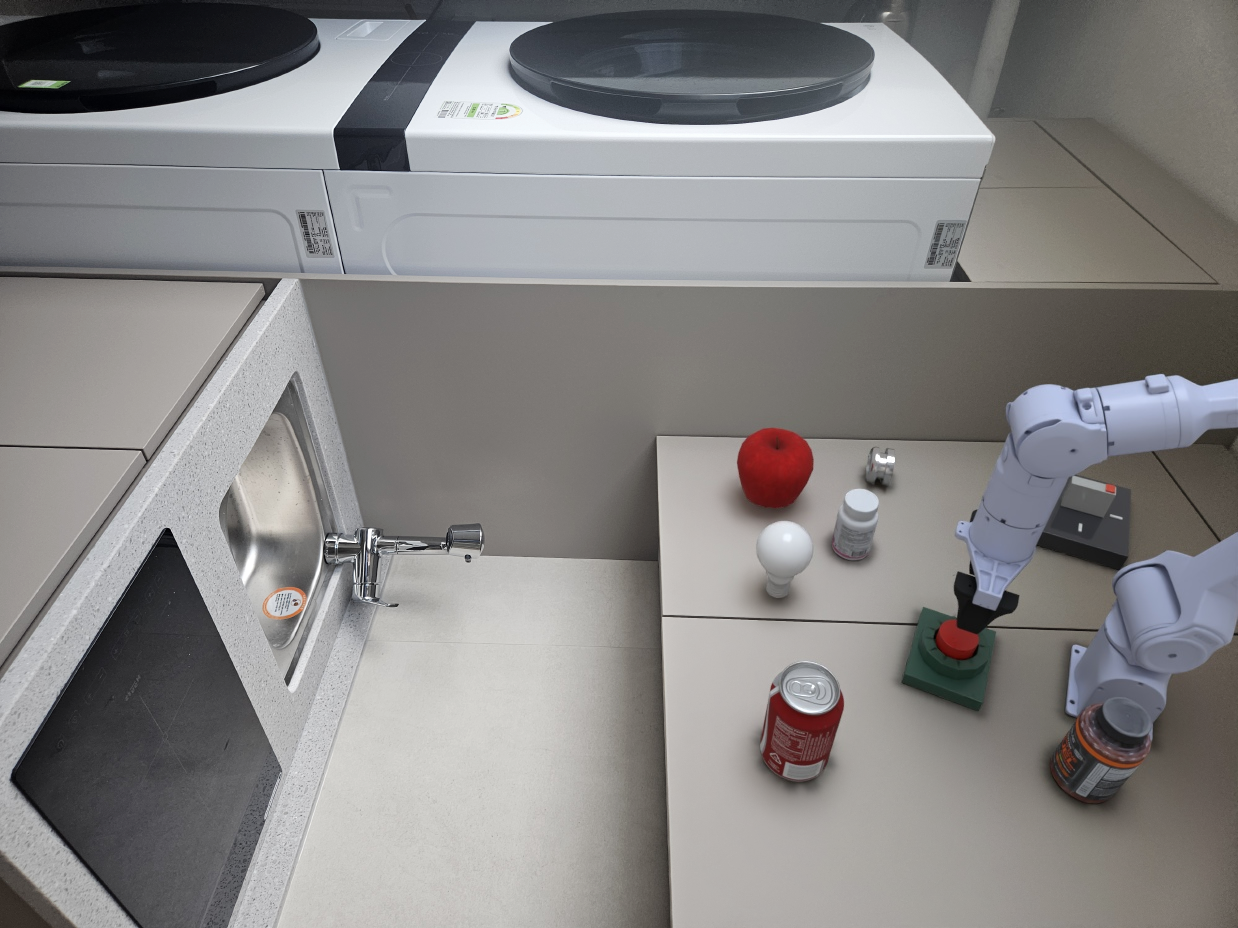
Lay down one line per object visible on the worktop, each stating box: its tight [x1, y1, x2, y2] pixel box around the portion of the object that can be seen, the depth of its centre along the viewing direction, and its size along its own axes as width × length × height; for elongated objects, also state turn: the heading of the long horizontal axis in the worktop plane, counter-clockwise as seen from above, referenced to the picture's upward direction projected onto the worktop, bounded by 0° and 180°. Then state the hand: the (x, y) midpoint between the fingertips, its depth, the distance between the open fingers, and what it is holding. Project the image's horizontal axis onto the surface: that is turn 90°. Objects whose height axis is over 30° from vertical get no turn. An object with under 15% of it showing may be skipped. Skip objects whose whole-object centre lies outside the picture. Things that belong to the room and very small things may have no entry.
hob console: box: [1036, 474, 1132, 571], centre depth 103 cm, size 13×11×3 cm
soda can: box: [759, 660, 845, 783], centre depth 77 cm, size 7×7×12 cm
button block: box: [901, 606, 997, 712], centre depth 88 cm, size 10×8×4 cm
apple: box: [736, 427, 815, 509], centre depth 105 cm, size 10×10×11 cm
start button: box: [936, 620, 979, 660], centre depth 86 cm, size 4×4×2 cm
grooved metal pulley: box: [865, 446, 896, 486], centre depth 109 cm, size 5×3×5 cm, turn 166°
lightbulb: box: [755, 520, 814, 599], centre depth 93 cm, size 6×6×11 cm
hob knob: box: [1061, 476, 1116, 518], centre depth 101 cm, size 5×2×4 cm, turn 63°
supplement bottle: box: [1049, 697, 1152, 804], centre depth 75 cm, size 6×6×11 cm
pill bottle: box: [831, 488, 880, 561], centre depth 99 cm, size 5×5×8 cm
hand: (973, 600), depth 82 cm, fingers open, 7 cm apart
